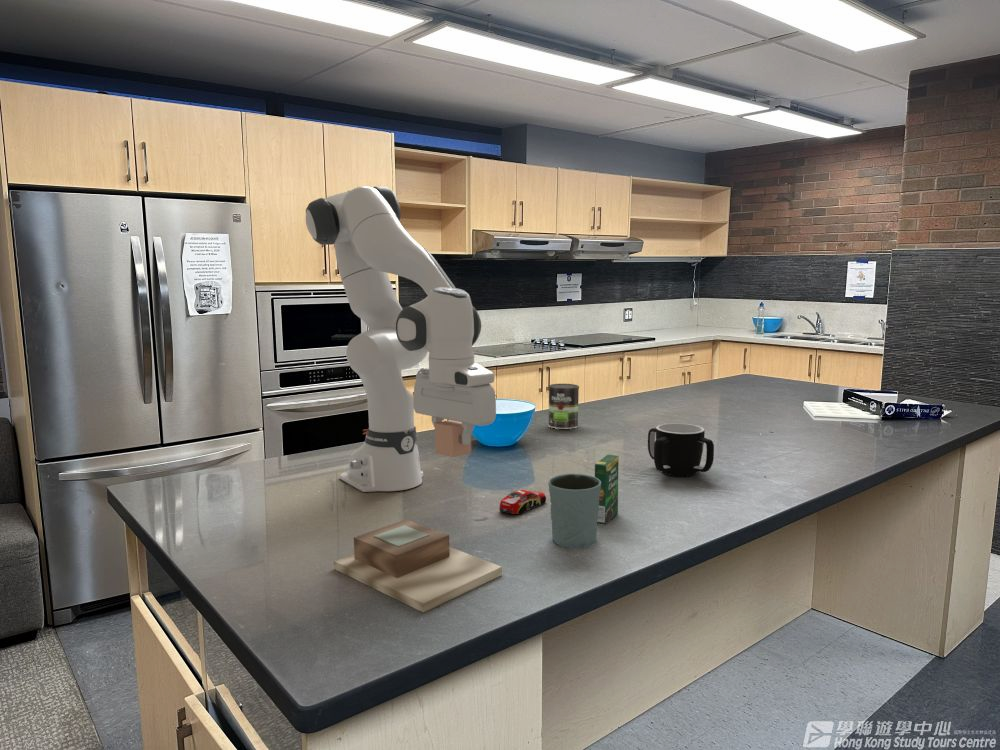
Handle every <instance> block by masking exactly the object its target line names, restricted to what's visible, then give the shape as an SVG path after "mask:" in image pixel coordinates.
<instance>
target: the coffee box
mask: <svg viewBox="0 0 1000 750" xmlns="http://www.w3.org/2000/svg"><path fill="white" fill-rule="evenodd" d="M619 460H620V459H619V455H615V454H606V455H604V457H602V458H601V459H600V460H599V461H597V462H596V463H595V464H594V477H596V478H598V479H599V480H600V481H601V489H600V496H599V507H598V508H599V512H598V520H597V524H598V525H603V526H607V524H608V523H609V522H611V521H612V519H613V518H615V517H616V516H617V515H618V514H619V462H620V461H619Z"/></svg>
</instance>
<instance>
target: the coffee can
mask: <svg viewBox="0 0 1000 750" xmlns="http://www.w3.org/2000/svg"><path fill="white" fill-rule="evenodd" d="M579 391H580V385H578V384H573V383H552V384H549V385H548V428H550V427H551V428H550V429H552V428H555V429H554V430H559V429H570V430H572V429H571V428H576V427H578V428H579V401H580V400H579V396H580V394H579ZM576 429H577V428H576Z"/></svg>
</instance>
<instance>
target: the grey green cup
mask: <svg viewBox="0 0 1000 750" xmlns="http://www.w3.org/2000/svg"><path fill="white" fill-rule="evenodd" d="M600 489H601V481H600V480H599V479H598V478H596V477H595V476H593V475H589V474H582V473H563V474H562V473H561V474H558V475H555V476H552V477H551V478H549V480H548V492H549V499H550V501H549V502H550V513H551V514H550V520H551V534H552V541H553V542H554V543H555V544H556V545H559V546H561V547H564V548H568V549H569V548H570V549H584V548H589V547H591V546H594V545H595V544H596V542H597V536H598V535H597V534H598V525H597V520H598V512H599V508H598V507H599V496H600Z"/></svg>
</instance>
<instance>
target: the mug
mask: <svg viewBox="0 0 1000 750" xmlns="http://www.w3.org/2000/svg"><path fill="white" fill-rule="evenodd" d="M705 431H706V430H705V428H704V427H702V426H700V425H697V424H691V423H681V422H680V423H679V422H677V423H676V422H671V423H670V422H669V423H661V424H658V425H657V426H656V427H652V428H650V429H649V430H648V433H647V450H648V455H649V456H650V458H651V459H652V460H653V461H654V467H655V468H656V470H657V471H659V472H662V474H665V475H668V476H671V477H672V476H673V477H682V478H683V477H692V476H695V475H696V474H697V473H698V472H700V473H707V472H708V471H709V470H711V468H712V466H713V463H714V458H715V444H714V441H712V440H711V439H710V438H706V437H705ZM704 444H706V455H705V457H706V458H705V464H704V466H700V465H701V462H702V455H703V454H704V453H703V452H704Z"/></svg>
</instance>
